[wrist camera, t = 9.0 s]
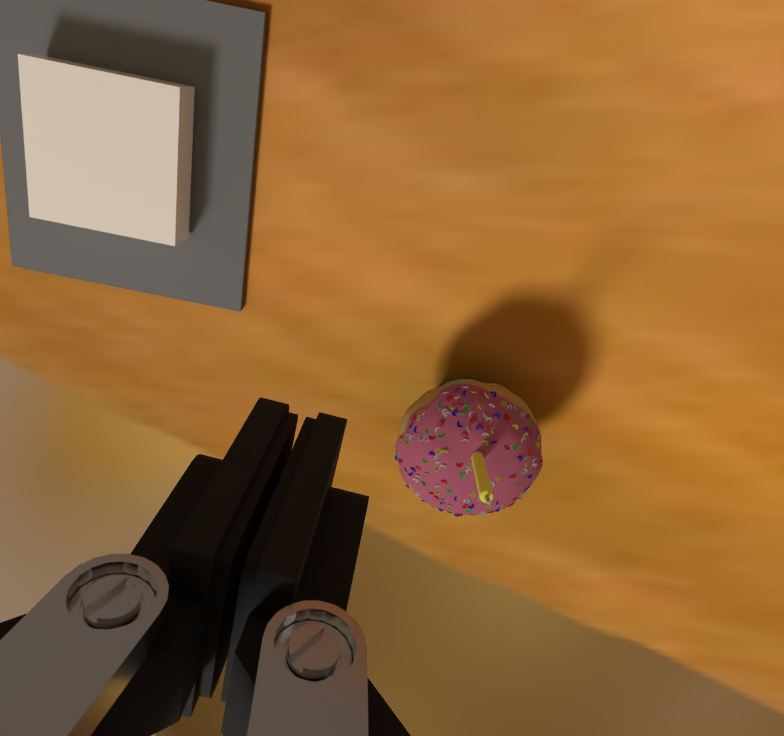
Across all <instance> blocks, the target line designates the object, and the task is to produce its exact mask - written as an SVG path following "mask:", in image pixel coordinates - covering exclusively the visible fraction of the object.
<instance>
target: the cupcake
mask: <svg viewBox="0 0 784 736" xmlns="http://www.w3.org/2000/svg"><path fill="white" fill-rule="evenodd" d="M396 457H397V458H396ZM395 459H396V460H397V461H398V465H399V468H400V472H401V475H402V478H403V480H404V481H405V483H406V484H407V485H406V486H407V487H408V488H410V489H412V490H413V491H414V492H415V494H416V495H417V496H419V497H420V498H421V499H422V501H424V502H427V503H428V504H430V505H431V507H434V508H438V509H439V508H440V509H441V510H440V509H439V510H440V511H443V510H445V511H447V512H448V513H454V515H455V516H457V517H458V516H462V514H466V515H477V514H478V515H477V516H480V515H485V513H492V512H494V511H499V510H500V509H503V508H506V507H509V506H511V505H513V504H514V502H516V501H517V500H520V499H522V498H520V497H521V496H522V495H523V494H524V493H527V492H529V490H530V489H529V487H530V486H531V484H532V483H533V482H534V480H535V479H536V477H537V476H538V474H539V476H540V470H541V467H542V463H543V461H542V456H541V434H540V431H539V428H538V425H537V422H536V420H535V418H534V416H533V414H532V412H531V410H530V409H529V407H528V406H527V405H526V403H525V402H524V401H523V400H522V399H521V398H520V397H518V396H517V395H515V394H513V393H512V392H510V391H509V390H508V389H506V388H505V387H503V386H501V385H499V384H495V383H483V382H480V381H478V380H473V379H457V380H453V381H450V382H448V383H446V384H444V385H442V386H441V387H438V388H435V389H432V390H429V391H427V392H426V393H424V394H423V395H422V396H421V397H420V398H419V399H418V400H417V401H416V402H415V403H413V404H412V405H411V406H410V407H409V408H408V409H407V411H406V412H405V414H404V416H403V418H402V420H401V424H400V427H399V433H398V438H397V441H396V456H395ZM527 490H528V491H527ZM456 514H457V515H456ZM459 514H461V515H459Z"/></svg>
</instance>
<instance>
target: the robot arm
mask: <svg viewBox="0 0 784 736" xmlns="http://www.w3.org/2000/svg"><path fill="white" fill-rule="evenodd" d="M297 420H298V415H297V414H293V413H289V404H285V403H281V402H277V401H273V400H269V399H265V398H259V400H258V401H257V403H256V405H255V406H254V408H253V410H252V411H251V413H250V415H249V416H248V418H247V420H246V422H245V423H244V425H243V427H242V428H241V430H240V432H239V433H238V435H237V437H236V438H235V440H234V442H233V444H232V445H231V447H230V449H229V450H228V452H227V454H226V455H225V457H224V459H223V460H221V459H217V458H213V457H209V456H205V455H201V454H199V455H197V456H196V457H195V458H194V459H193V461H192V462H191V464H190V465H189V467H188V468H187V470H186V471H185V473H184V474H183V476H182V477H181V479H180V480H179V482H178V483H177V485H176V486H175V488H174V489H173V491H172V492H171V494H170V495H169V497H168V498H167V500H166V502H165V503H164V504H163V506H162V508H161V509H160V510H159V512H158V513H157V515H156V516H155V518H154V519H153V521H152V522H151V524H150V525H149V527H148V529H147V530H146V531H145V533H144V535H143V536H142V537H141V539H140V541H139V542H138V544H137V545H136V547H135V548H134V550H133V551H132V552H131V554H110V555H105V556H100V557H96V558H94V559H91V560H89V561H87V562H85V563H83V564H80V565H78V566H77V567H76V568H74V569H73V570H72V571H71V572H69V573H68V574H67V575H65V576H64V577H63V578H62V579H61V580H60V581H59V583H58V584H56V585H55V586H54V587H53V588H52V589H51V590H50V591H49V592H48V594H46V595H45V596H44V597H43V598H42V599H41V600H40V601H39V602H38V603H37V604H36V605H35V606H34V607H33V608H32V609H31V610H30V611H29V612H28V613H27V614H24V615H21V616H19V617H16V618H13V619H10V620H7V621H4V622H2V623H0V736H155V735H156V733H157V732H159V731H161V730H163V729H165V728H166V727H168V726H170V725H172V724H174V723H176V722H178V721H179V720H180V717H181V715H183V716H187V717H191V715H192V713H193V710H194V708H195V705H196V703H197V700H198V698H199V696H203V697H207V698H211V697H212V695H213V693H214V690H215V688H216V685H217V683H218V680H219V677H220V675H221V672H222V670H223V667H224V665H225V662H226V659H227V657H228V659H227V665H226V671H225V677H224V683H223V689H222V695H221V701H223V702H226V706H225V712H224V718H223V723H222V729H221V732H222V734H223V736H410V734H409V733H408V732H407V730H406V729H405V728H404V726H403V725H402V723H401V722H400V721H399V719H398V718H397V717H396V715H395V714H394V713H393V711H392V710H391V709H390V707H389V706H388V704H387V703H386V702H385V700H384V699H383V698H382V696H381V695H380V694H379V692H378V691H377V690H376V688H375V687H374V686H373V684H372V683H371V681H370V680H369V679H368V677H367V676H368V675H367V646H366V641H365V635H364V633H363V631H362V629H361V628H360V626H359V624H358V622H357V621H356V620H355V619H354V618H353V617H352V616H351V615H350V614H349V613H348V612H347V611H346V609H347V604H348V599H349V594H350V589H351V584H352V580H353V574H354V570H355V564H356V560H357V555H358V550H359V545H360V540H361V535H362V530H363V525H364V520H365V515H366V510H367V505H368V500H369V496H365V495H361V494H357V493H353V492H349V491H345V490H341V489H337V488H333V487H331V486H332V482H333V478H334V473H335V469H336V465H337V461H338V457H339V452H340V448H341V444H342V440H343V436H344V431H345V427H346V423H347V419H344V418H340V417H336V416H333V415H329V414H325V413H321V412H319V414H318V416H317V419H313V418H309V417H306V418H305V421H304V423H303V425H302V428H301V430H300V432H299V435H298V437H297V439H296V442H295V444H294V446H293V441H294V436H295V431H296V425H297ZM292 446H293V449H292Z"/></svg>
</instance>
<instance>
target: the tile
mask: <svg viewBox="0 0 784 736" xmlns="http://www.w3.org/2000/svg"><path fill="white" fill-rule="evenodd" d="M18 67H19V80H20V94H21V108H22V121H23V135H24V148H25V162H26V176H27V189H28V203H29V217H32V218H37V219H42V220H47V221H52V222H57V223H62V224H67V225H72V226H77V227H82V228H87V229H92V230H97V231H102V232H107V233H111V234H116V235H121V236H126V237H131V238H136V239H141V240H146V241H151V242H156V243H161V244H166V245H171V246H176V245H178V244H179V243H181V242H183V241H184V240H186V239H187V238H189V217H190V192H191V168H192V143H193V118H194V94H195V87H193V86H188V85H183V84H178V83H173V82H169V81H164V80H159V79H154V78H149V77H144V76H139V75H135V74H130V73H125V72H120V71H115V70H110V69H105V68H101V67H96V66H91V65H86V64H81V63H76V62H71V61H67V60H62V59H57V58H52V57H47V56H42V55H28V54H18Z"/></svg>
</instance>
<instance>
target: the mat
mask: <svg viewBox="0 0 784 736" xmlns="http://www.w3.org/2000/svg"><path fill="white" fill-rule="evenodd" d="M266 20H267V13H265V12H260V11H255V10H251V9H246V8H241V7H236V6H231V5H226V4H222V3H217V2H212V1H207V0H0V135H1V146H2V157H3V168H4V180H5V191H6V202H7V213H8V225H9V236H10V247H11V258H12V266H16V267H21V268H26V269H31V270H36V271H41V272H46V273H51V274H56V275H61V276H66V277H71V278H76V279H81V280H86V281H91V282H96V283H101V284H106V285H111V286H115V287H120V288H125V289H130V290H135V291H140V292H145V293H150V294H155V295H160V296H165V297H170V298H175V299H180V300H185V301H190V302H195V303H200V304H205V305H210V306H215V307H220V308H225V309H230V310H235V311H241V310H242V307H243V295H244V283H245V271H246V259H247V247H248V235H249V223H250V211H251V199H252V187H253V175H254V163H255V151H256V139H257V128H258V116H259V104H260V92H261V80H262V68H263V56H264V44H265V32H266ZM18 54H28V55H42V56H47V57H52V58H57V59H62V60H67V61H71V62H76V63H81V64H86V65H91V66H96V67H101V68H105V69H110V70H115V71H120V72H125V73H130V74H135V75H139V76H144V77H149V78H154V79H159V80H164V81H169V82H173V83H178V84H183V85H188V86H193V87H195V94H194V118H193V143H192V168H191V192H190V217H189V238H187V239H186V240H184V241H183V242H181V243H179V244H178V245H176V246H171V245H166V244H161V243H156V242H151V241H146V240H141V239H136V238H131V237H126V236H121V235H116V234H111V233H107V232H102V231H97V230H92V229H87V228H82V227H77V226H72V225H67V224H62V223H57V222H52V221H47V220H42V219H37V218H32V217H29V203H28V189H27V176H26V162H25V148H24V135H23V121H22V108H21V94H20V80H19V67H18Z"/></svg>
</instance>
